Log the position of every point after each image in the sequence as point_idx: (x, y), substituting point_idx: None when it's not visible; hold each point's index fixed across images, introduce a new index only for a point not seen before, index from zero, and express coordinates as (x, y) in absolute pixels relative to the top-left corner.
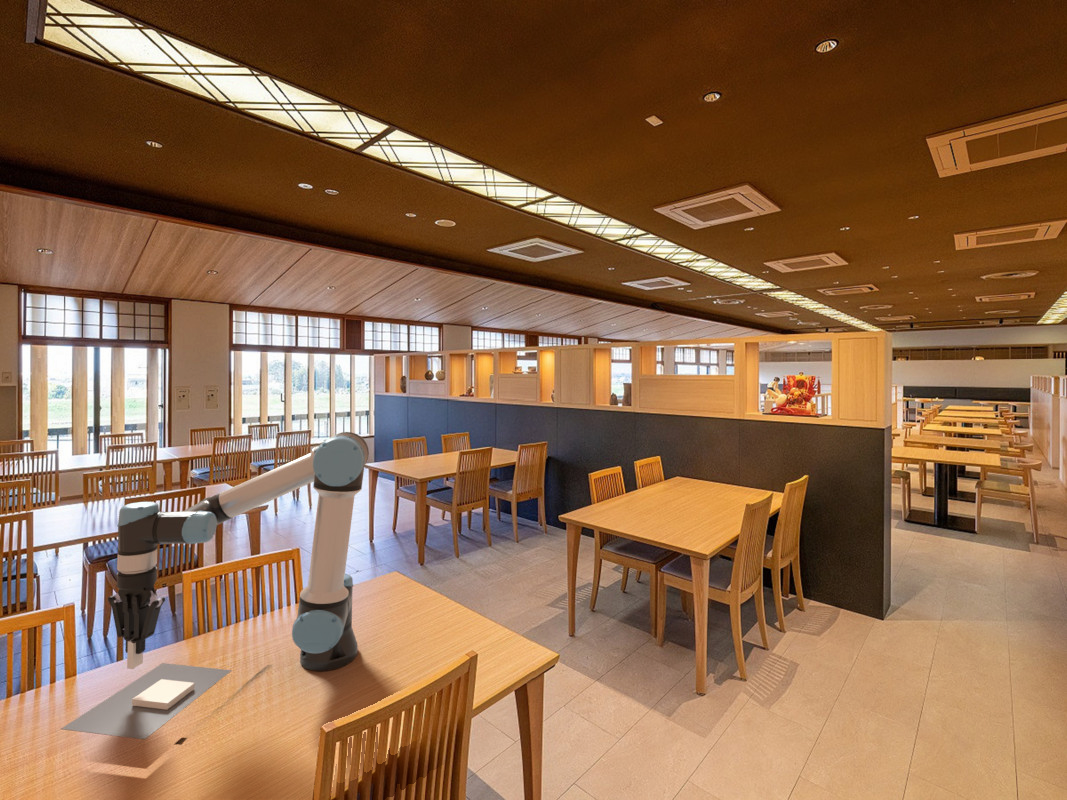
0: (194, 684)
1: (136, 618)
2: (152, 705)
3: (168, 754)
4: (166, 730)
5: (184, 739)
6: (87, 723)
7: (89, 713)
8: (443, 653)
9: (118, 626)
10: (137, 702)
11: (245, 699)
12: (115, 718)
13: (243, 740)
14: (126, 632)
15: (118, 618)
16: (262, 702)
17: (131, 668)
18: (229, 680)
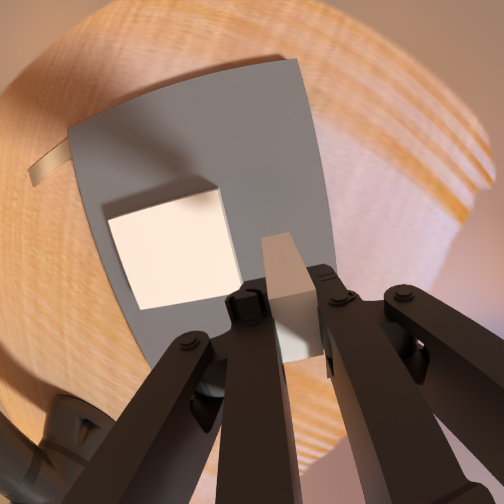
0: (142, 307)
1: (254, 482)
2: (153, 205)
3: (28, 144)
4: None
5: (33, 181)
6: (254, 92)
7: (298, 121)
8: (20, 424)
9: (447, 329)
10: (199, 193)
11: (60, 313)
12: (203, 134)
13: None
14: (353, 326)
15: (492, 379)
16: (36, 314)
17: (267, 237)
18: None
